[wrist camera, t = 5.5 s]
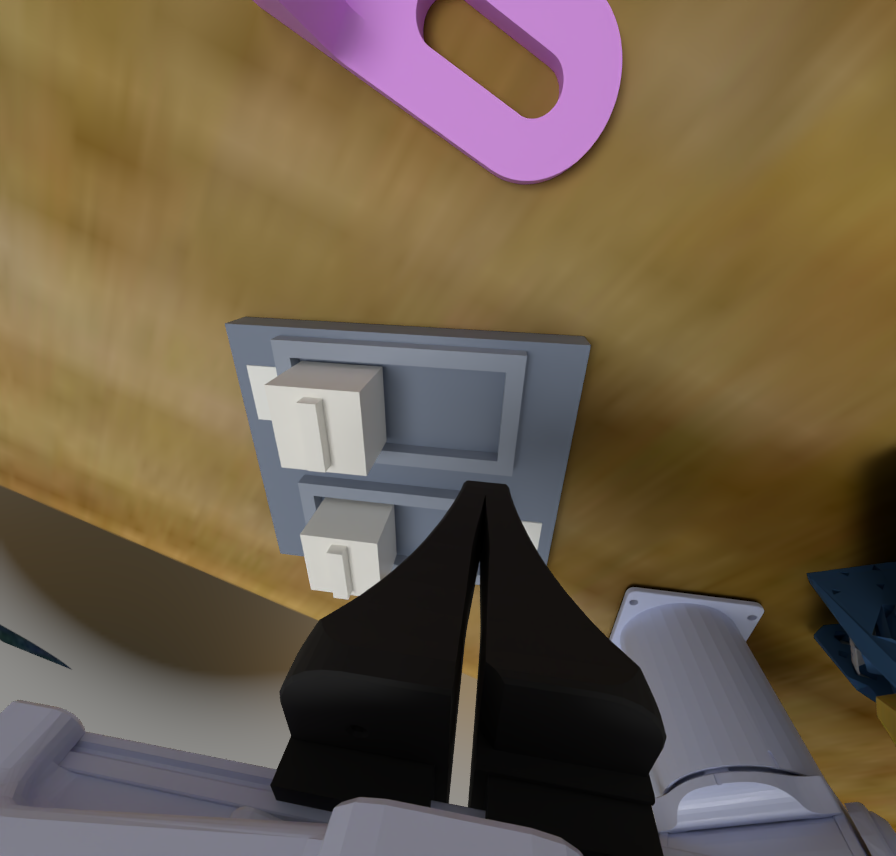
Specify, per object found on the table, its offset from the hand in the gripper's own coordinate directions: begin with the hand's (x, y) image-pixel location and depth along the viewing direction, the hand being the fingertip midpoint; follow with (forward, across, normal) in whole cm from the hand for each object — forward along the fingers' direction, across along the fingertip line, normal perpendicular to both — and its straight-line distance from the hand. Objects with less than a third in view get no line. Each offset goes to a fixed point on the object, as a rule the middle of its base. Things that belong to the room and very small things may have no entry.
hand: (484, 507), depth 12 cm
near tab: (+7, +7, 0) cm, 10 cm away
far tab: (+7, +7, +8) cm, 13 cm away
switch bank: (+9, +5, +4) cm, 11 cm away
